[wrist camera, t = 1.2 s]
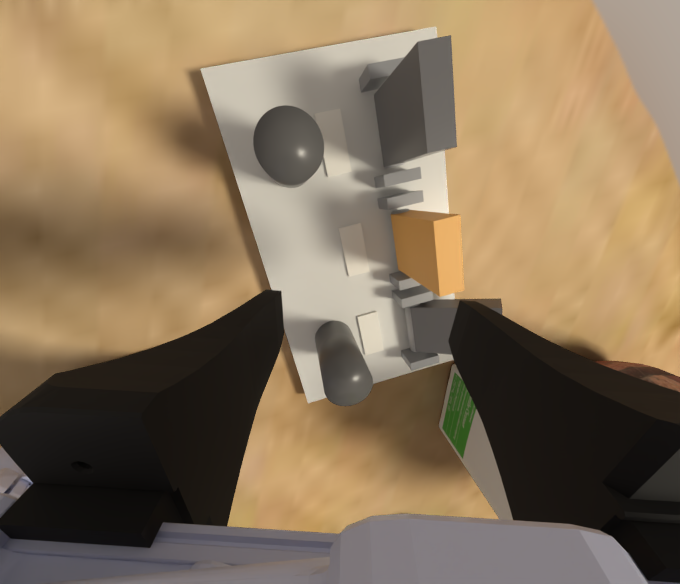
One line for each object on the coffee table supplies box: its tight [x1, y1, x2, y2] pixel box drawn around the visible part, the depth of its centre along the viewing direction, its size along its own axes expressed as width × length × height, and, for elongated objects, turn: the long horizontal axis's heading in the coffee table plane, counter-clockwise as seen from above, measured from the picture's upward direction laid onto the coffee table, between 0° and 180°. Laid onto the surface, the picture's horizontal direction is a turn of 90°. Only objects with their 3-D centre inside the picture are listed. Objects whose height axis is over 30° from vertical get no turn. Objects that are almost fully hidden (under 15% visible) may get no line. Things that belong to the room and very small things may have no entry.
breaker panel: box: [201, 27, 455, 406], centre depth 18 cm, size 14×24×7 cm, turn 12°
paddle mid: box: [390, 209, 464, 297], centre depth 17 cm, size 1×4×7 cm, turn 13°
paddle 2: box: [405, 299, 502, 355], centre depth 21 cm, size 1×4×7 cm
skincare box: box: [439, 364, 513, 520], centre depth 21 cm, size 8×7×16 cm
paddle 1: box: [374, 35, 457, 169], centre depth 15 cm, size 1×4×7 cm, turn 12°
